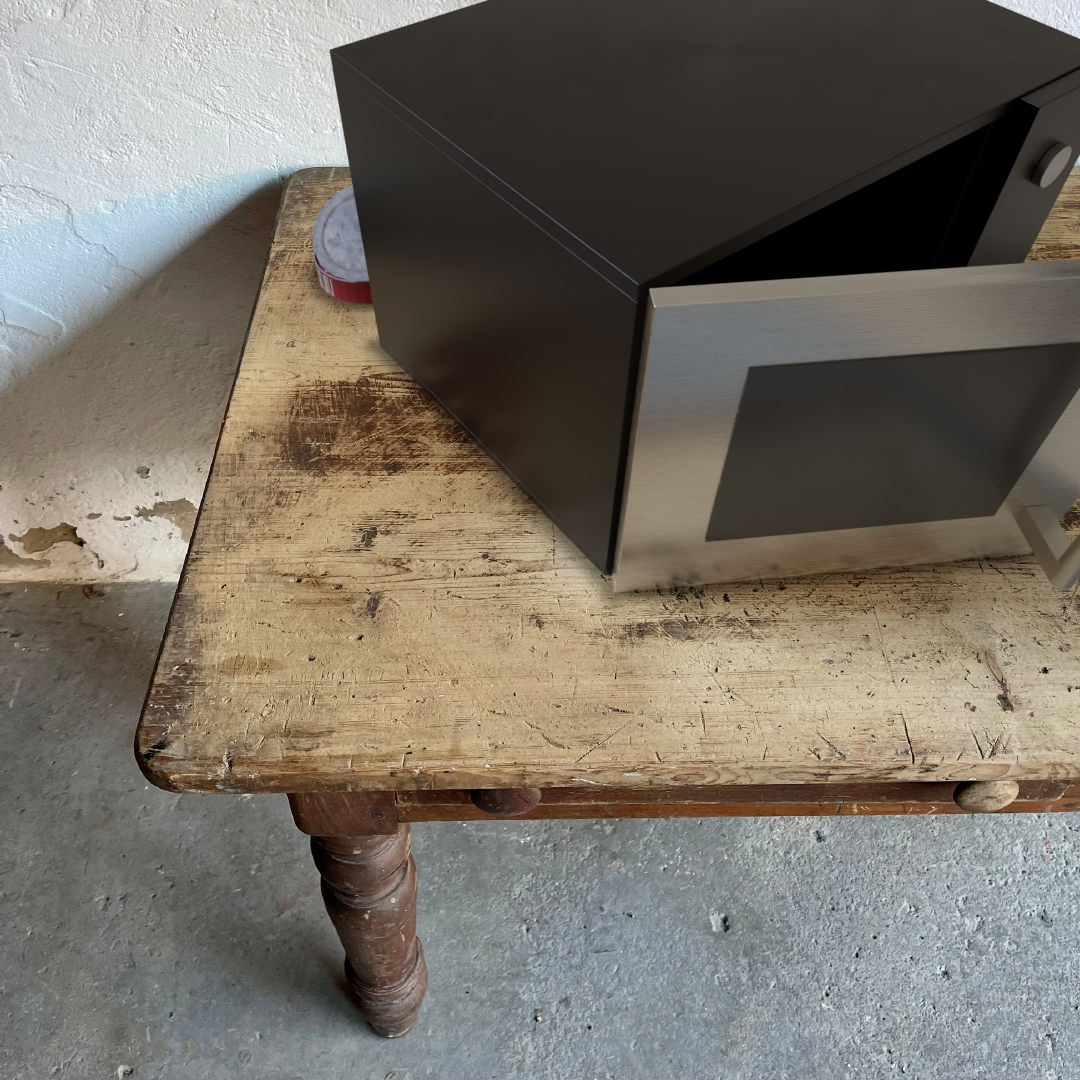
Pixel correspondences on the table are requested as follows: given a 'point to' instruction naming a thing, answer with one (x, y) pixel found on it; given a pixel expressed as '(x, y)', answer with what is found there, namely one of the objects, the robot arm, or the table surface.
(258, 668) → the table surface
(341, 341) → the table surface
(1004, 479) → the microwave door
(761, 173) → the microwave
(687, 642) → the table surface
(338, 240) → the canned food
